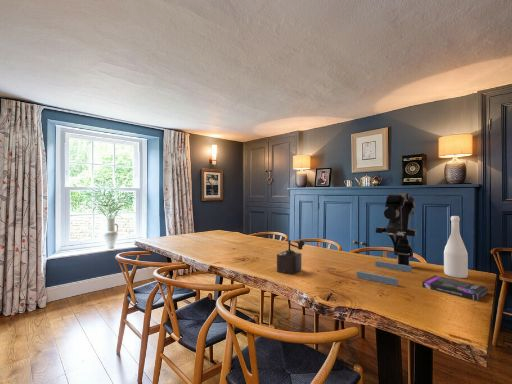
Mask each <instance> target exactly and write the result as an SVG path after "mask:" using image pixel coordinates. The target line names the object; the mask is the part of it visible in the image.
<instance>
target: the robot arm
mask: <svg viewBox="0 0 512 384" xmlns="http://www.w3.org/2000/svg"><path fill="white" fill-rule="evenodd" d="M384 205H385V210H384V211H383V216H384V217H385V219H386V220H388V224H387V225H386V226H378V227H376V228H375V233H376V234H382V233H387V234H386V235H387V236H389V238H390V239H391V241H392V244H393V254H394V256H397V264H400V265H406V266H412V264H410V258H413V257H414V250H413V248H412V244H411V242H410V240H409V237H416V236H418V231H417V229H413V228H412V229H411V228H410V221H411V215H413V213H414V211H415V208H416V202H415V198H413V197H412V196H411V195H410V193H409V192H400V193H398V194H392V193H391V194H390V193H389V194H388V196H386V201H385V204H384Z"/></svg>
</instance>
